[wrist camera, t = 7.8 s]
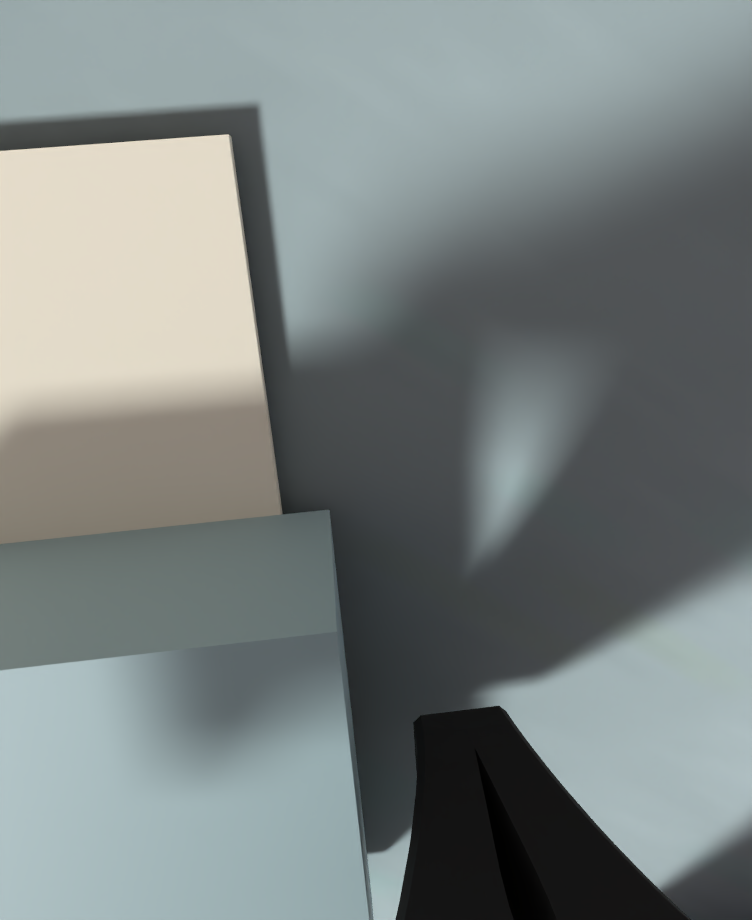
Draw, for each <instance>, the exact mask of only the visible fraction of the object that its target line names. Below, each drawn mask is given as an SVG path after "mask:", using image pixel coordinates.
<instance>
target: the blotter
mask: <svg viewBox="0 0 752 920" xmlns="http://www.w3.org/2000/svg"><path fill="white" fill-rule="evenodd" d="M273 515H283V513H282V505H281V498H280V491H279V483H278V476H277V469H276V461H275V454H274V447H273V439H272V432H271V425H270V417H269V410H268V403H267V395H266V388H265V380H264V373H263V366H262V358H261V351H260V344H259V336H258V329H257V322H256V314H255V307H254V300H253V292H252V285H251V278H250V270H249V263H248V256H247V248H246V241H245V234H244V226H243V219H242V212H241V204H240V197H239V190H238V182H237V175H236V168H235V160H234V153H233V146H232V138H231V136H230V135H229V134H226V135H213V136H199V137H185V138H172V139H158V140H144V141H131V142H117V143H103V144H90V145H76V146H62V147H48V148H35V149H21V150H7V151H0V544H6V543H16V542H25V541H35V540H44V539H54V538H63V537H73V536H82V535H92V534H101V533H111V532H120V531H130V530H140V529H149V528H159V527H168V526H178V525H187V524H197V523H206V522H216V521H225V520H235V519H244V518H254V517H264V516H273Z"/></svg>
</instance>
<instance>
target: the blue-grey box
mask: <svg viewBox="0 0 752 920" xmlns="http://www.w3.org/2000/svg"><path fill="white" fill-rule="evenodd" d="M0 920H373V908H372V897H371V887H370V878H369V869H368V859H367V850H366V841H365V832H364V823H363V813H362V804H361V795H360V786H359V777H358V767H357V758H356V749H355V740H354V731H353V721H352V712H351V703H350V694H349V685H348V675H347V666H346V657H345V648H344V639H343V630H342V620H341V611H340V602H339V593H338V584H337V574H336V565H335V556H334V547H333V538H332V528H331V519H330V510H321V511H311V512H302V513H292V514H283V515H273V516H264V517H254V518H244V519H235V520H225V521H216V522H206V523H197V524H187V525H178V526H168V527H159V528H149V529H140V530H130V531H120V532H111V533H101V534H92V535H82V536H73V537H63V538H54V539H44V540H35V541H25V542H16V543H6V544H0Z"/></svg>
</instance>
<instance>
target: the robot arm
mask: <svg viewBox="0 0 752 920" xmlns="http://www.w3.org/2000/svg"><path fill="white" fill-rule="evenodd" d="M413 725H414V740H415V755H416V770H417V784H416V798H415V807H414V816H413V824H412V833H411V841H410V847H409V853H408V859H407V864H406V870H405V875H404V881H403V886H402V892H401V897H400V902H399V907H398V911H397V916H396V920H691V919H690V918H689V917H688V916H687V915H686V914H685V913H683V912H682V911H681V910H680V909H679V908H678V907H677V906H676V905H675V904H674V903H673V902H672V901H671V900H670V899H669V898H668V897H666V896H665V895H664V894H663V893H662V892H661V891H660V890H659V889H658V888H657V887H656V886H655V885H654V884H653V883H652V882H651V881H650V880H649V879H648V878H647V877H646V876H645V875H644V874H643V873H642V872H641V871H640V870H639V869H638V868H637V867H636V866H635V865H634V864H633V863H632V862H631V861H630V860H629V859H628V857H627V856H626V855H625V854H624V853H623V852H622V851H621V850H620V849H619V848H618V847H617V846H616V845H615V844H614V843H613V842H612V841H611V840H610V839H609V838H608V836H607V835H606V834H605V833H604V832H603V831H602V830H601V829H600V828H599V827H598V826H597V824H596V823H595V822H594V821H593V820H592V819H591V818H590V816H589V815H588V814H587V813H586V812H585V811H584V810H583V808H582V807H581V806H580V805H579V804H578V803H577V802H576V800H575V799H574V798H573V797H572V796H571V795H570V794H569V792H568V791H567V790H566V789H565V788H564V787H563V785H562V784H561V783H560V782H559V781H558V779H557V778H556V777H555V776H554V775H553V773H552V772H551V771H550V770H549V768H548V767H547V766H546V765H545V763H544V762H543V761H542V759H541V758H540V757H539V756H538V754H537V753H536V752H535V751H534V749H533V748H532V747H531V745H530V744H529V743H528V741H527V740H526V739H525V737H524V736H523V735H522V733H521V732H520V731H519V729H518V728H517V726H516V725H515V724H514V722H513V721H512V719H511V718H510V716H509V715H508V714H507V712H506V711H505V710H504V709H502V708H501V707H500V706H494V707H486V708H478V709H470V710H461V711H453V712H445V713H437V714H429V715H421V716H419V717H418V718H417V719H416V720H415V721H414V722H413Z"/></svg>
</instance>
